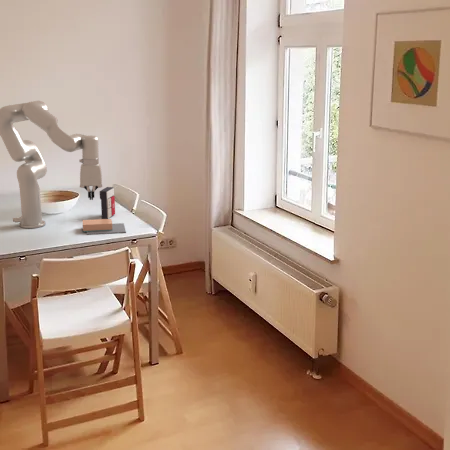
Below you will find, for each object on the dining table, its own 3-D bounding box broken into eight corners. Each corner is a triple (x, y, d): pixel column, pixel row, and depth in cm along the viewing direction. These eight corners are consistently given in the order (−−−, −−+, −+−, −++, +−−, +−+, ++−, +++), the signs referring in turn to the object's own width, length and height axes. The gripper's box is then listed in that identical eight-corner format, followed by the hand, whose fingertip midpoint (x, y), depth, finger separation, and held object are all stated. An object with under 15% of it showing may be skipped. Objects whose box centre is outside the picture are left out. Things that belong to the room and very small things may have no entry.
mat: (86, 234, 310) (86, 233, 310) (86, 225, 325) (86, 224, 325) (125, 232, 314) (125, 231, 314) (123, 224, 329) (123, 223, 329)
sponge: (82, 224, 312) (112, 223, 315) (82, 220, 320) (111, 218, 323) (83, 231, 313) (112, 230, 316) (82, 226, 321) (111, 225, 324)
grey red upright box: (108, 219, 337) (107, 191, 333) (100, 219, 338) (99, 191, 334) (116, 214, 347) (115, 187, 343) (108, 214, 348) (107, 186, 344)
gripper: (74, 163, 304) (75, 201, 309) (106, 163, 307) (107, 200, 312) (74, 160, 311) (75, 197, 316) (106, 160, 314) (106, 197, 319)
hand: (91, 199), depth 314 cm, fingers closed
